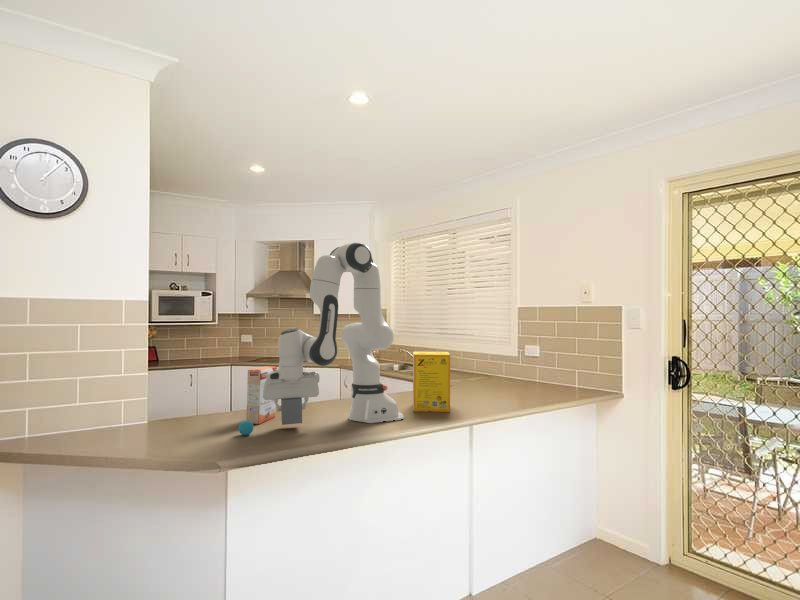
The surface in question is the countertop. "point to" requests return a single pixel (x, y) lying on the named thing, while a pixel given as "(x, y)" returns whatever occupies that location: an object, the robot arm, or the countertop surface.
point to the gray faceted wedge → (291, 411)
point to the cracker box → (259, 396)
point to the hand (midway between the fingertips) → (291, 410)
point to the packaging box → (431, 381)
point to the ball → (245, 427)
